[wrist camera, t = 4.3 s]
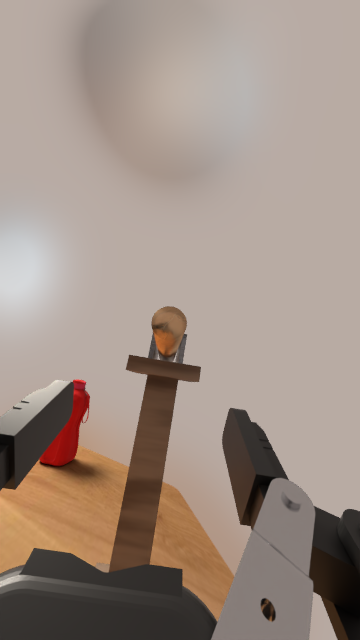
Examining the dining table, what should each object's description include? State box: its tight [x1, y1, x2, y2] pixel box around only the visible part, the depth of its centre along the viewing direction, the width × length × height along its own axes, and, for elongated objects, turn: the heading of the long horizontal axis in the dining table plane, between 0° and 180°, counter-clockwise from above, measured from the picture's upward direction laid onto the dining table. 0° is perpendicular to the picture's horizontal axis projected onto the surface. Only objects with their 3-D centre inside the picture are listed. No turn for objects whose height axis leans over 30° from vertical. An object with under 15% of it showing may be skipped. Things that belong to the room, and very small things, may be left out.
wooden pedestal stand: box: [95, 355, 201, 572], centre depth 29 cm, size 12×10×32 cm
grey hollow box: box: [148, 333, 187, 364], centre depth 35 cm, size 12×5×4 cm, turn 4°
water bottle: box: [39, 380, 90, 466], centre depth 69 cm, size 9×11×25 cm
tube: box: [152, 307, 187, 362], centre depth 28 cm, size 24×3×3 cm, turn 4°
